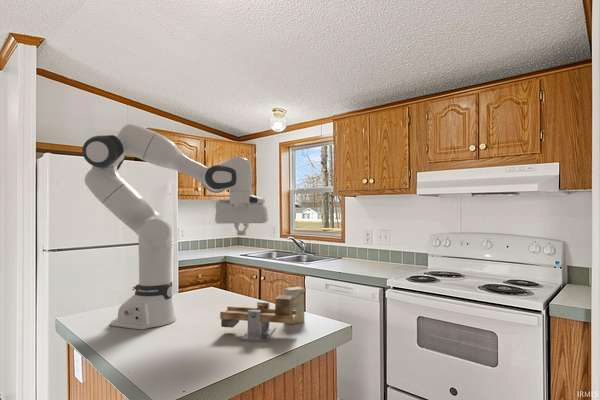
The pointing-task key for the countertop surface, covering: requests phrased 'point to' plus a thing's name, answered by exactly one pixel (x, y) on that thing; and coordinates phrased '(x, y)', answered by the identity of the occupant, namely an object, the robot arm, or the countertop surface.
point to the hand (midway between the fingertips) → (241, 235)
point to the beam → (241, 313)
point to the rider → (284, 305)
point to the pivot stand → (258, 326)
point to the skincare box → (297, 302)
